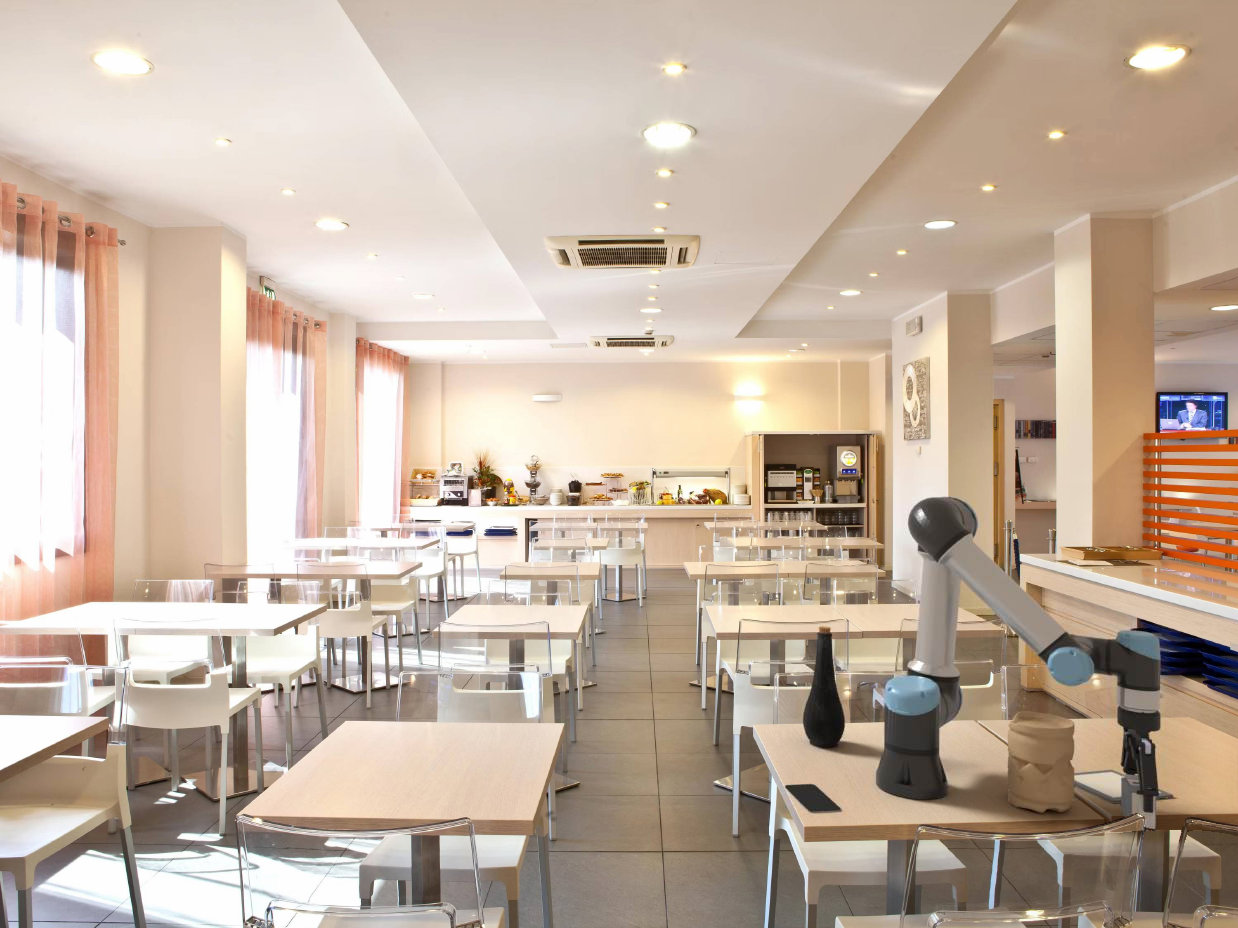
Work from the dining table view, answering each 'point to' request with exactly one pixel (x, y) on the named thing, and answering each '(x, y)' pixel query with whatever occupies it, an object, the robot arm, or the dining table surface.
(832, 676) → the bottle
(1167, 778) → the dining table surface
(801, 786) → the smartphone
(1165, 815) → the dining table surface
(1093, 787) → the grey bordered square plate
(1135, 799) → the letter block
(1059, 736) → the container
